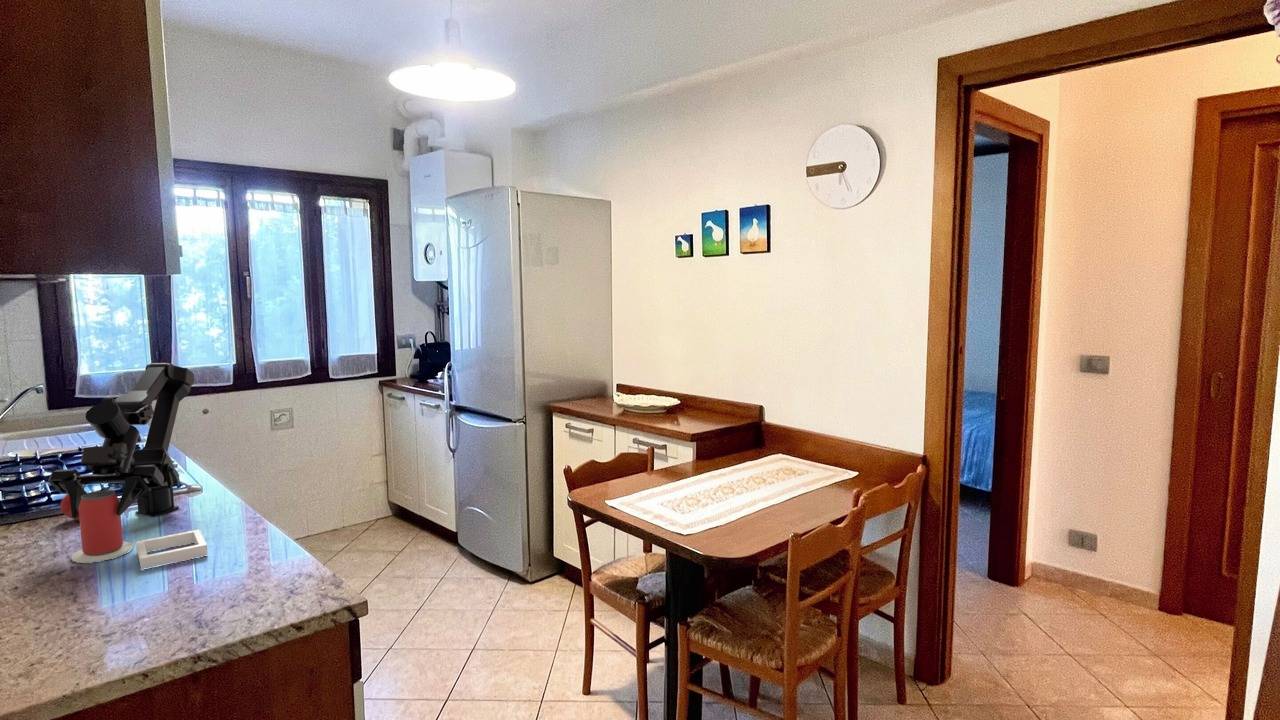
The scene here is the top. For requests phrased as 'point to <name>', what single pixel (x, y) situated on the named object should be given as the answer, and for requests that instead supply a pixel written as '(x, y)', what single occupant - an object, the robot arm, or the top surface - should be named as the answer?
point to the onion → (67, 507)
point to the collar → (171, 555)
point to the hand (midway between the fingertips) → (96, 516)
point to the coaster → (83, 558)
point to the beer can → (100, 523)
